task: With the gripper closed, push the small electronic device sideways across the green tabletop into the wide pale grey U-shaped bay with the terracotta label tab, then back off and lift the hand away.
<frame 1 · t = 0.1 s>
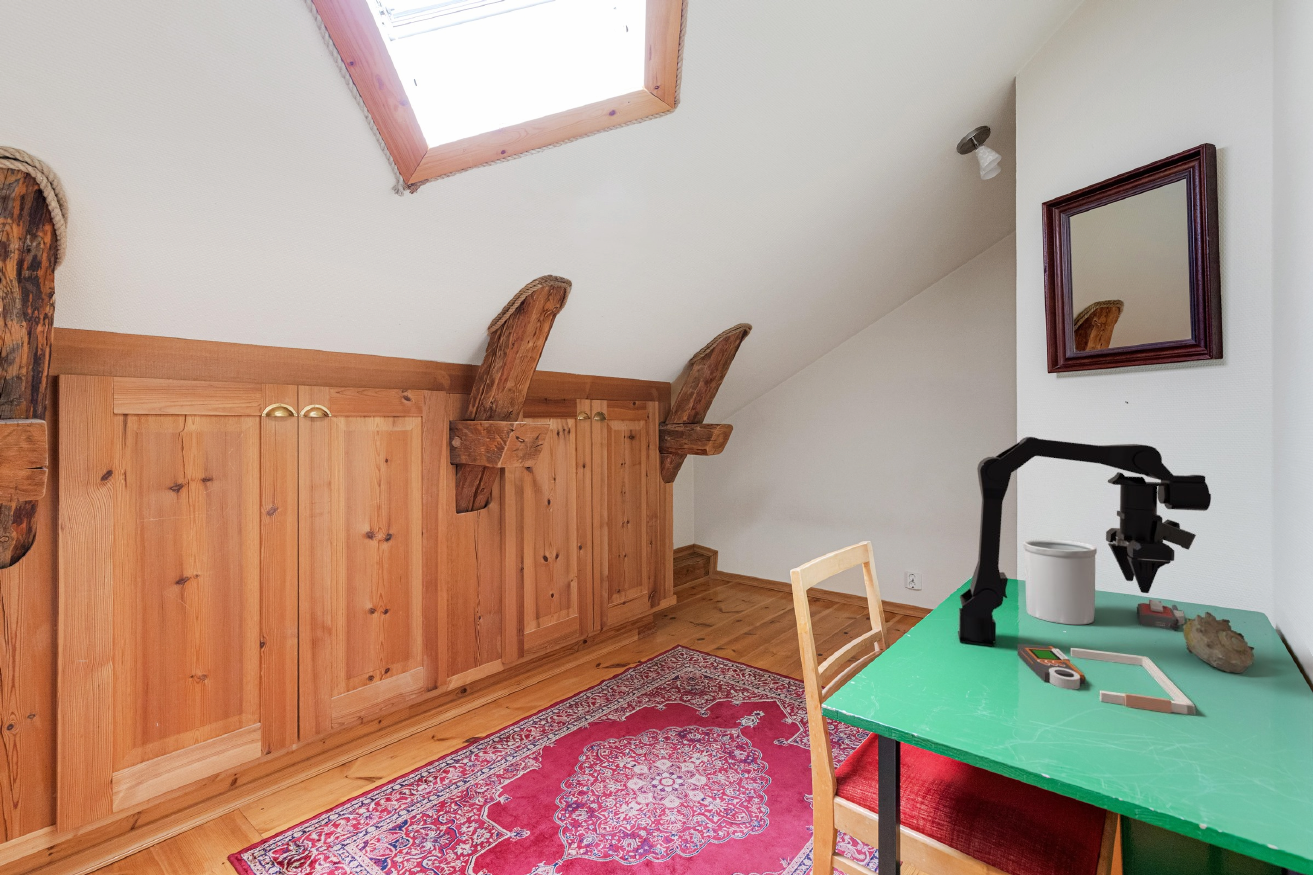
hand: (1136, 586, 120), 15 cm above the table, fingers open, 9 cm apart
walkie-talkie: (1160, 620, 145), on the table
seashell: (1218, 664, 119), on the table
docking bay: (1117, 680, 111), on the table
utensil holder: (1058, 616, 147), on the table
electronic device: (1051, 674, 115), on the table
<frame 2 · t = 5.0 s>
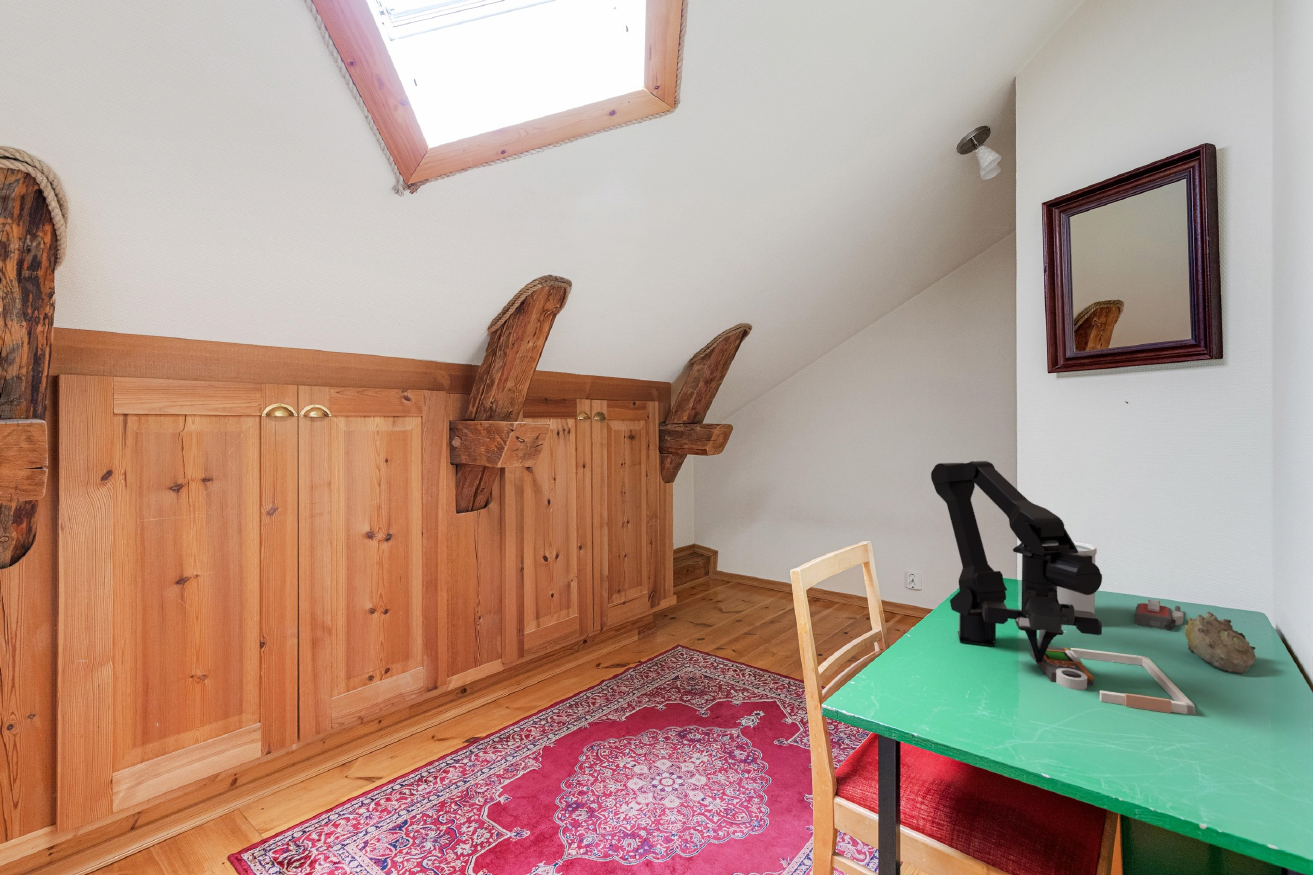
hand: (1038, 661, 115), 2 cm above the table, fingers closed
electronic device: (1061, 675, 114), on the table, touching gripper
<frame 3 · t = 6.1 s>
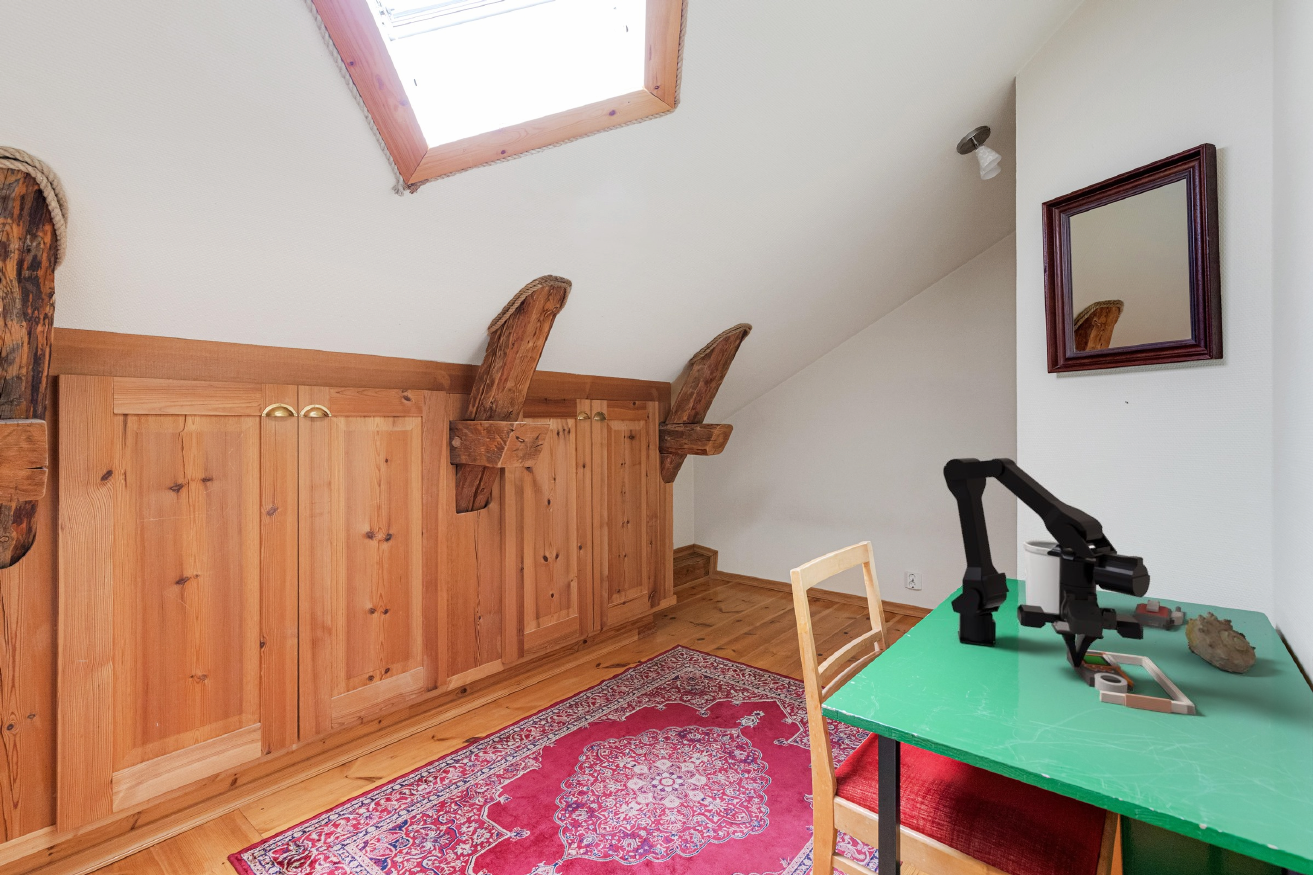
hand: (1076, 666, 113), 2 cm above the table, fingers closed
electronic device: (1099, 680, 112), on the table
everything else where it was.
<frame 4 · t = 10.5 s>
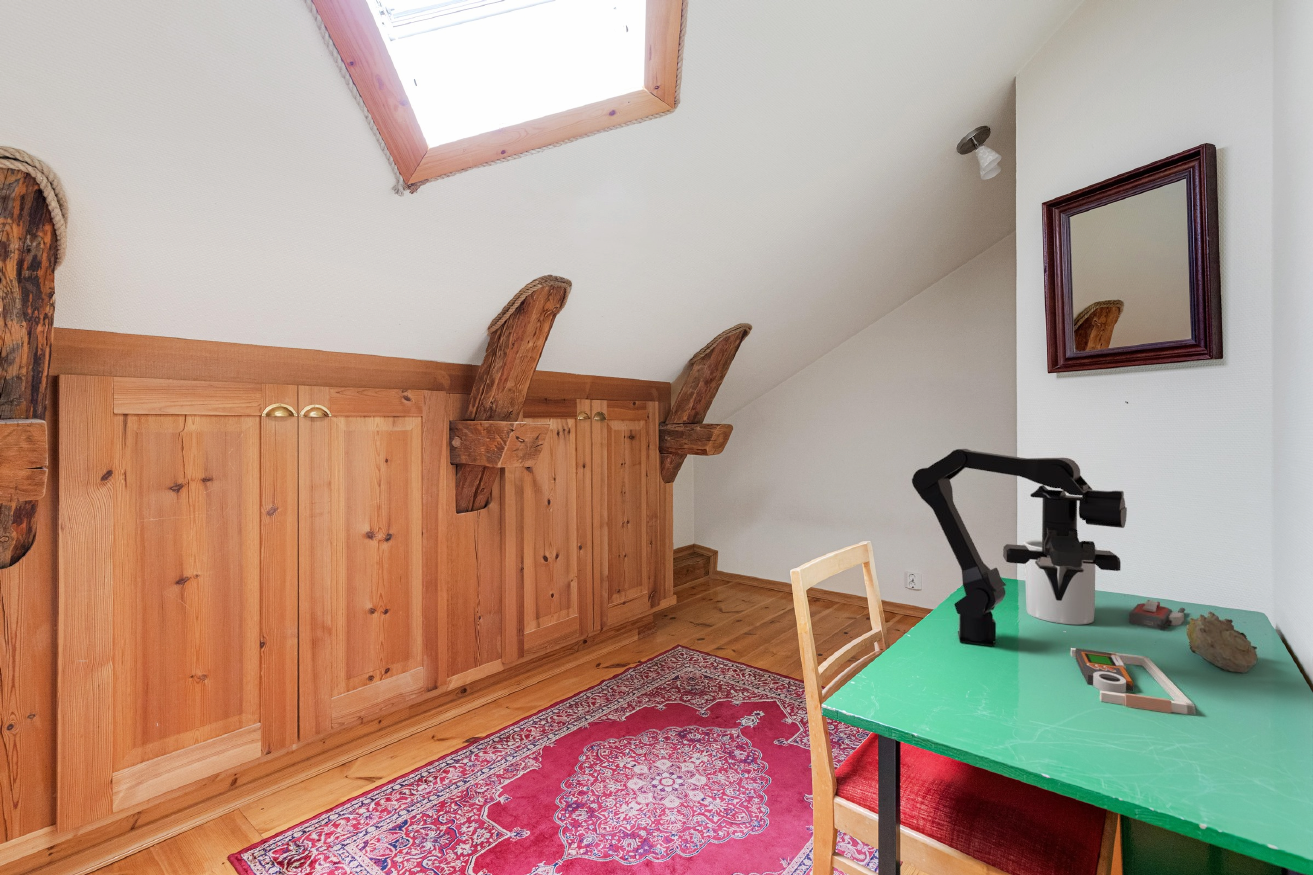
hand: (1058, 600, 120), 12 cm above the table, fingers closed
at the end: electronic device inside the target area on the docking bay (3.5 cm from its centre), point -0.6 cm above the docking bay's base; electronic device moved 8.2 cm from its start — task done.
